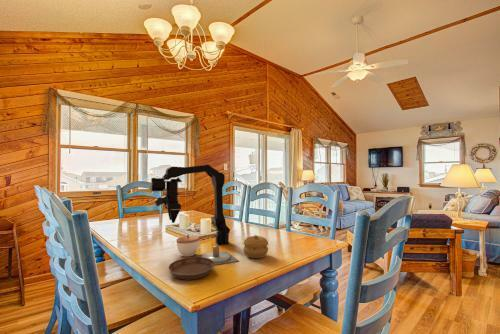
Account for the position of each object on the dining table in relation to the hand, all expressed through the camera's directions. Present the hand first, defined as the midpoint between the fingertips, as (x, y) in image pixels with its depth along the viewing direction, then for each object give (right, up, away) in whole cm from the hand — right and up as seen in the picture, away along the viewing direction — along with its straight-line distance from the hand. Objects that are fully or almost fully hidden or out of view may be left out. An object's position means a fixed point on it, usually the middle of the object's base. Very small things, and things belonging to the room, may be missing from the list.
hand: (171, 221), depth 134 cm
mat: (+24, -14, -14) cm, 32 cm away
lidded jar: (+11, -14, -9) cm, 20 cm away
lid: (+24, -14, -14) cm, 32 cm away
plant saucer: (+17, -14, -31) cm, 38 cm away
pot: (+43, -15, -11) cm, 47 cm away
